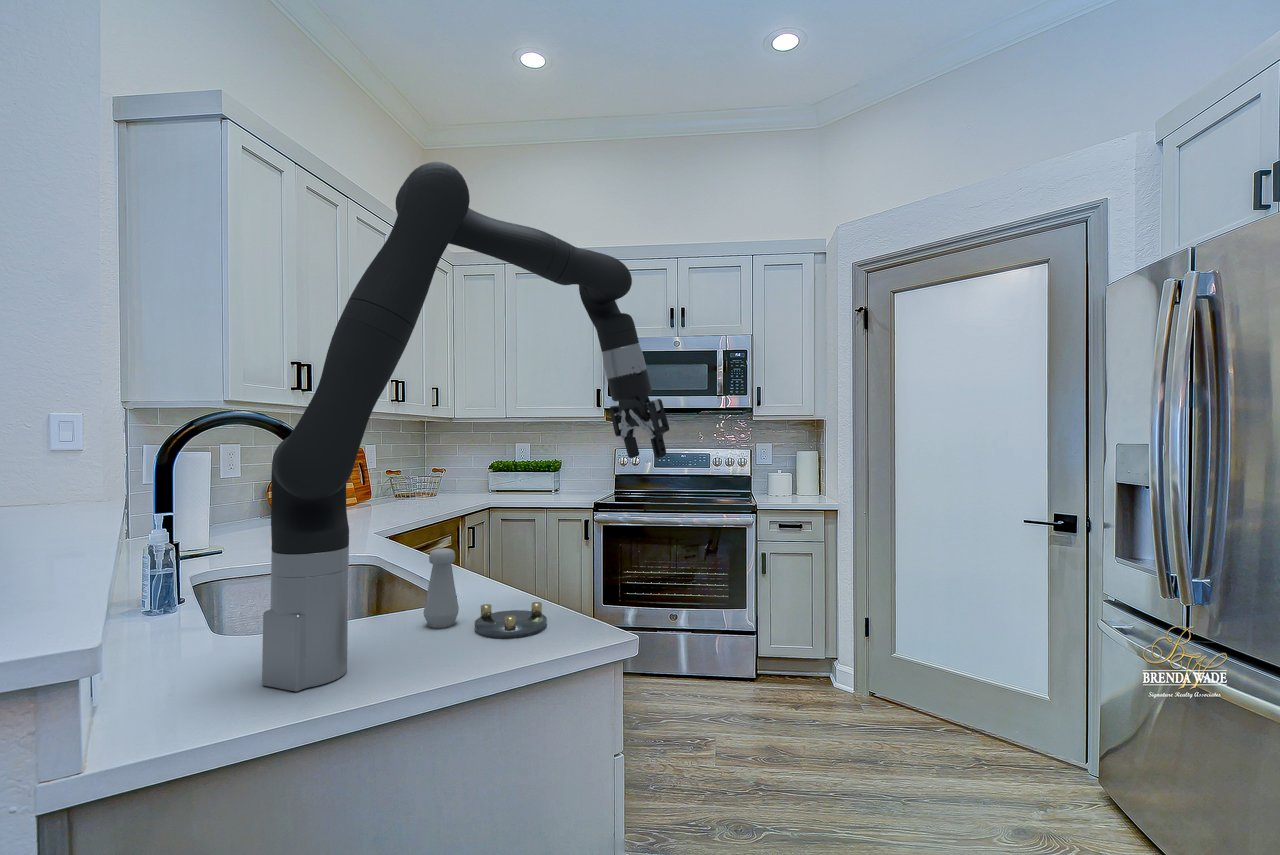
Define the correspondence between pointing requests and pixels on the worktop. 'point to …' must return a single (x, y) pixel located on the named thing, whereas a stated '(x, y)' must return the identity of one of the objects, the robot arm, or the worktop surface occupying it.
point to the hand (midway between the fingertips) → (647, 457)
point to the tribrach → (510, 622)
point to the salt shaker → (441, 590)
